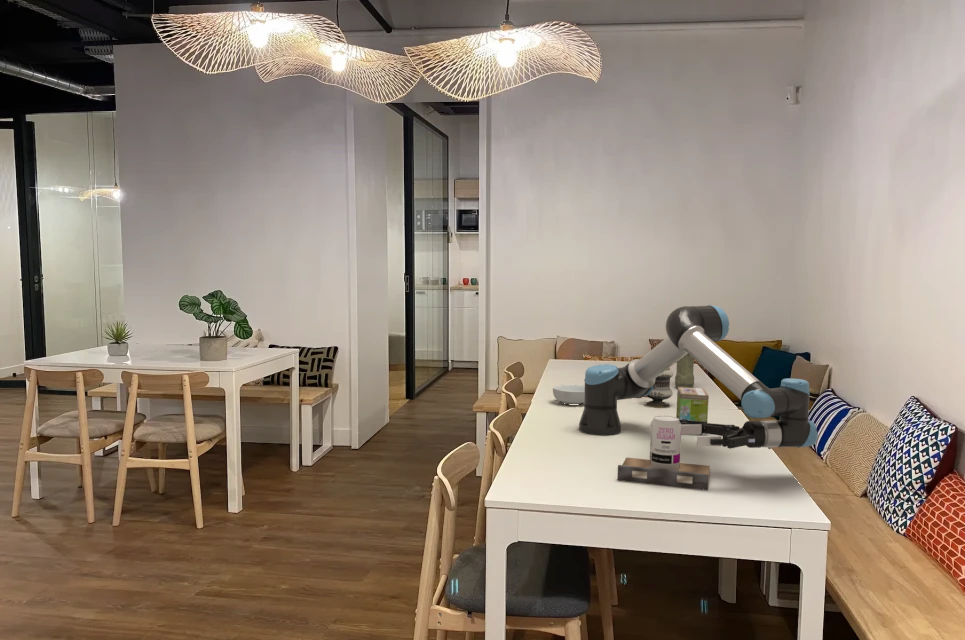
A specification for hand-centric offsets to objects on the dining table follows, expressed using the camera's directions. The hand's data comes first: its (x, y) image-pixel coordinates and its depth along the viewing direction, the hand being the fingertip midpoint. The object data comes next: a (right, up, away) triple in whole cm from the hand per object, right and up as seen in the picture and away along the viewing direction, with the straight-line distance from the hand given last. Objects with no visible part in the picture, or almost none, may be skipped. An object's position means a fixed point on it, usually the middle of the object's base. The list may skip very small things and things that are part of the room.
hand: (688, 435), depth 199 cm
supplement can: (-7, -10, +1) cm, 12 cm away
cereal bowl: (-19, -4, +106) cm, 107 cm away
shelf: (-6, -12, +2) cm, 14 cm away
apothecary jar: (+17, -4, +103) cm, 105 cm away
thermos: (+40, -1, +145) cm, 150 cm away
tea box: (+18, -8, +59) cm, 62 cm away
